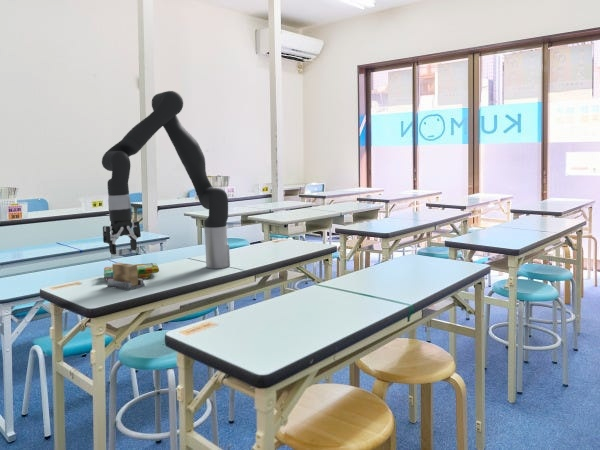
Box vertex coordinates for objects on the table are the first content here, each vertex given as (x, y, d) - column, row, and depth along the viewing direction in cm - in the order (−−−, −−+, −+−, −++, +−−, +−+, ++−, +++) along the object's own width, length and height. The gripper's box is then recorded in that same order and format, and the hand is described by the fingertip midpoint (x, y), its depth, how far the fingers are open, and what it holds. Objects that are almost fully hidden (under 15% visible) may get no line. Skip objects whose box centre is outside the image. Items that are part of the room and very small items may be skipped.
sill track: (107, 286, 186) (106, 279, 186) (123, 282, 192) (122, 275, 192) (128, 290, 180) (127, 283, 179) (144, 286, 186) (143, 279, 185)
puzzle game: (103, 265, 202) (155, 260, 209) (104, 277, 203) (156, 272, 210) (103, 271, 191) (158, 266, 198) (104, 283, 192) (159, 278, 199)
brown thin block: (113, 282, 187) (112, 264, 187) (120, 281, 190) (119, 262, 189) (131, 286, 182) (130, 266, 181) (138, 284, 184) (136, 265, 183)
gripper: (129, 205, 190) (133, 247, 192) (95, 209, 178) (100, 254, 181) (142, 205, 186) (146, 249, 188) (109, 210, 174) (113, 256, 176)
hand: (123, 252), depth 184 cm, fingers open, 8 cm apart
